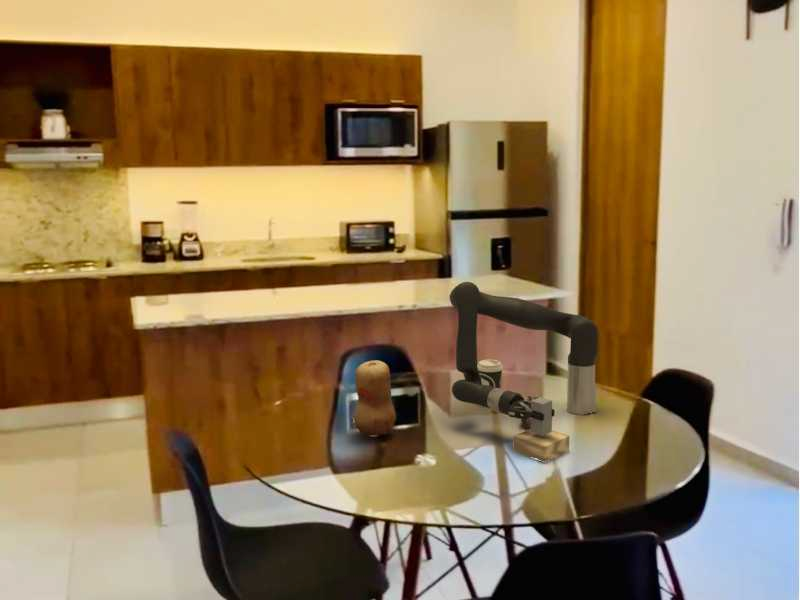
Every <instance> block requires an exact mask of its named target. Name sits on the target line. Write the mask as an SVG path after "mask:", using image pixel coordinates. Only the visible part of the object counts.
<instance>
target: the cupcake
mask: <svg viewBox="0 0 800 600" xmlns="http://www.w3.org/2000/svg"><path fill="white" fill-rule="evenodd" d="M537 398H539V397H538V396H537V397H535V396H534V398H533V397H532V396H530V395H528V396H526V398H525V399H524V400H529V401H531V400H534V399H537ZM520 421H521V426H522V428H523V429H525V430H526V431H527V430H529V429H531V419H530V418H527V420H524V419H520Z"/></svg>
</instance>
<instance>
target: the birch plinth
mask: <svg viewBox="0 0 800 600" xmlns="http://www.w3.org/2000/svg"><path fill="white" fill-rule="evenodd" d="M513 451H515V452H514V453H516V454H519V455H522V456H525V457H528V458H530V457H533V458H537V459H539V460H541V461H544V462H545V461H547V462H549V461H548V460H550V461H552V460H553V458H554V459H556V458H558V457H560V456H562V455H564V454H567V453H568V452H570V436H569V435H568V434H565V433H561V432H558V431H556V430H552V432H550V433H548V434H546V435H543V436H541V435H538V434H535V433H532V432H531V429H529V430H527V429H526V430H524V431H523V432H520V433H517V434H514V435H513V436H512V452H513ZM533 458H532V459H533ZM551 459H552V460H551ZM541 461H540V462H541ZM544 462H543V463H544ZM545 463H546V462H545Z"/></svg>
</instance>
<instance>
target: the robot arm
mask: <svg viewBox="0 0 800 600" xmlns="http://www.w3.org/2000/svg"><path fill="white" fill-rule="evenodd" d="M449 301H450V302H449V303H450V304H451V305H452V307H453V308H454V309H456V310H457V315H458V316H457V317H458V318H457V320H458V321H457V322H458V326H457V334H456V335H457V336H456V337H457V338H456V343H455V344H456V345H455V346H456V347H455V360H456V363H455V364H456V366H455V367H456V369H457V372H460V373H462V374H463V376H464V379H458V380H456V381H455V382H454V383H453V385H451V393H452V395H453V397H454V398H455V399H456V400H457V401H460V402H463V403H466V404H473V405H478V406H482V407H484V408H487V409H490V410H492V411H495V412H496V413H500V414H503V415H506V416H508V417H509V418H514V419H519V420H521V419H524V420H527V418H530V419H532V418H534V419H537V420H540V421H543V420H544V414H543V413H540V412H537V411H533V410H531V401H529V400H525V399H524V397H523V396H522V394H520V393H519V392H515V391H511V390H508V389H505V388H501V387H500V388H495V387H492V386H488V385H482V381H481V378H480V374H479V370H478V367H477V365H478V344H477V343H478V338H477V337H478V335H477V334H478V333H477V329H478V327H477V326H478V315H483V316H486V317H490V318H492V319H495V320H497V321H499V322H503V323H507V324H510V325H513V326H515V327H520V328H523V329H527V330H533V331H535V330H536V331H549V332H553V333H555V334H559V335H561V336H564V337H566V338H568V339H570V348H569V349H570V351H569V354H568V355H567V381H566V382H567V383H566V386H567V387H566V390H567V391H566V393H567V394H566V411H567V412H568V411H569V413H570V412H571V414H574V415H581V416H583V415H584V414H586V415H589V414H588V413H591V412H594V411H596V412H597V385H596V382H595V381H596V380H595V379H596V359H597V356H598V346H599V332H598V327H597V325H596V324H595V323H594V322H593V321H592V320H591V319H589V318H588V317H587V316H584V315H580V314H579V315H578V314H573V313H568V312H567V313H566V312H561V311H557V310H554V309H552V308H550V307H547V306H544V305H541V304H539V303H535V302H533V301H529V300H525V299H523V298H522V299H521V298H517V297H510V296H509V297H508V296H497V295H492V294H489V293H486V292H482V291H480V289H479V287H478V286H477V285H476V284H475V283H473V282H472V281H471V282H470V281H464V282H463V281H462V282H460V283H458V284H457V285H456V286H455V287H454V288H452V289H451V292H450V295H449ZM591 414H592V413H591ZM553 417H555V408H552V418H553Z"/></svg>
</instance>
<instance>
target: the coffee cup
mask: <svg viewBox="0 0 800 600" xmlns="http://www.w3.org/2000/svg"><path fill="white" fill-rule="evenodd" d="M477 367H478V370H479V374H480V378H481V381H482V385H488V386H492V387H495V388H500V389H501V384H502V373H503V370H504V366H503V364H502V363H501V361H500V360H496V359H484V360H483V359H482V360H479V362H478V363H477Z"/></svg>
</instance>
